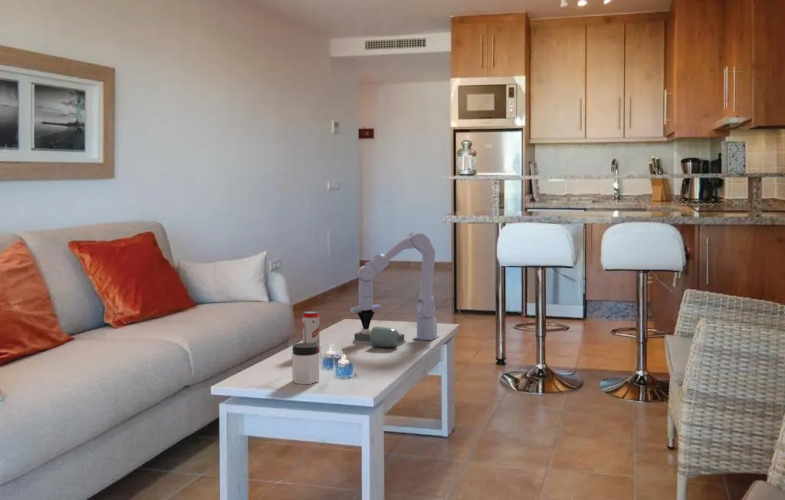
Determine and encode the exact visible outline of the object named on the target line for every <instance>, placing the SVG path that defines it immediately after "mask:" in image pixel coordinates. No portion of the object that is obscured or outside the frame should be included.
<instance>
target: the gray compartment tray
mask: <svg viewBox="0 0 785 500" xmlns="http://www.w3.org/2000/svg"><path fill="white" fill-rule="evenodd" d="M353 335H354V337H353V338H354V339H352V343H358V344H359V343H360V344H369V345H371V342H370V335H371V334H361V330H360V331H358V332H355V333H354V334H353ZM406 341H407V340H406V339H405V334H404V333H399V342H398V344H397V345H396V346H395V347H398V346H401V345H403V344H405V343H406Z"/></svg>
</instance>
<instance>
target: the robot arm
mask: <svg viewBox="0 0 785 500" xmlns="http://www.w3.org/2000/svg"><path fill="white" fill-rule="evenodd" d="M413 248H414V249H415V250H417V251H418V252H419V253H420V254H421V256H422V259H421V261H422V262H421V275H420V290H419V291H420V293H419V295H418V296H417V297H418V298H417V299H418V300H417V302H416V304H415V310H416V312H417V315H416V336H414V337H413V338H412V339H413V340H421V341H422V340H423V341H432V340H434V339H436V338H438V337H440V335H439V334H438V333H437V332H438V321H437V319H436V316H435V314H436V310H437V308H436V305H435V300H434V295H433V292H434V275H435V263H436V262H435V261H436V259H435V258H436V251H435V249H434V247H433V245H432V243H431V240H430V238H429V237H428V236H427V235H425V234H424V233H422V232H418V231H412V232H410V233H409V234H408V235H406V236H404V237H403V238H402V239H400V240H399V241H398V242H397V243H396V244H394V245H393V246H392V247H391V248H390V249H388V250H387V251H386V252H385V253H384V254H383V253H378V254H374V257H373V258H372V259H371V260H370V261H368V262H365V263H364V265H362V266H360V267H359V268H358V270H357V272H356V274H357V277H358V305H357V306H353V307H350V308H349V313H350V314H355V313H357V315H358V318H359V319H360V322H361V326H362V328H363V329H369V328H370V325H371V321H372V318H373V317H374V315H375V311H376V310H377V311H378V310H379V311H381V310H382V305H381V304H374V293H373V292H374V290H373V289H374V285H373V279H374V278H375V275H377V274H379V273H380V272H381V271H382V270H383V269H385V268H387V266H389V264H390V263H389V261H390V260H392V259H394V257H396V256H398V254H400V253H401V252H403V251H404V250H411V249H413Z"/></svg>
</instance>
